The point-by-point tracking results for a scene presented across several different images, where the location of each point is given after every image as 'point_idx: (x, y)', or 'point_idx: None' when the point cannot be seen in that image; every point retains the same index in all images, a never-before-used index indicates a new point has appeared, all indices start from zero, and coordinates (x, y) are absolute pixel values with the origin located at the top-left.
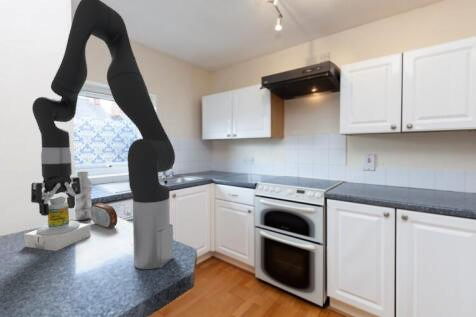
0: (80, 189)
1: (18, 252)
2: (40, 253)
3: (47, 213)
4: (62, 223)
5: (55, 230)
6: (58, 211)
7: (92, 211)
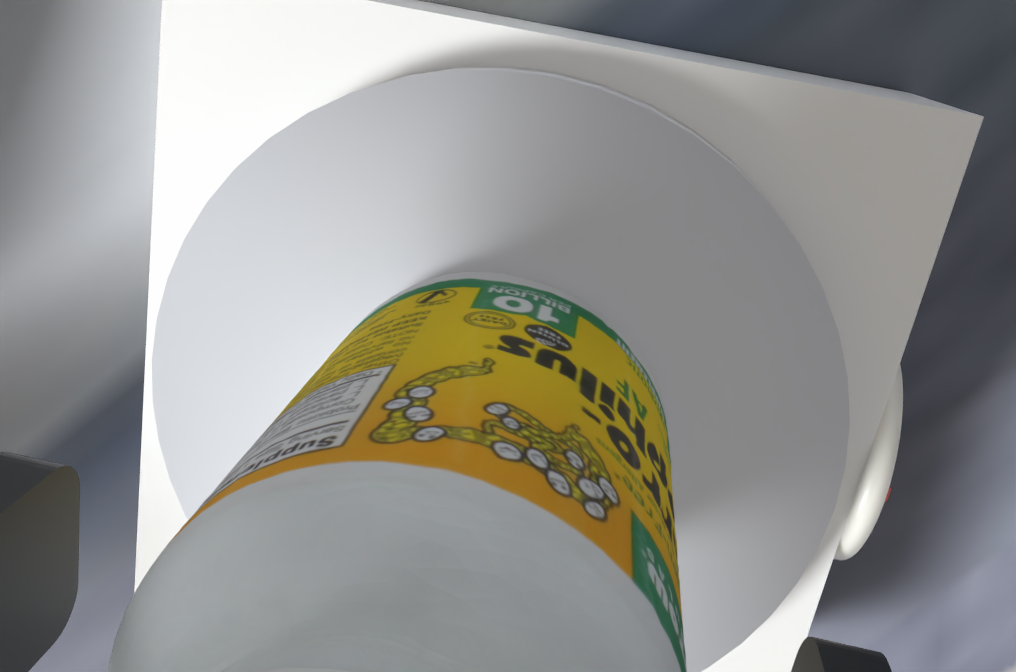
0: None
1: (922, 583)
2: (982, 269)
3: (869, 667)
4: (577, 318)
5: (721, 331)
6: (623, 513)
7: None
